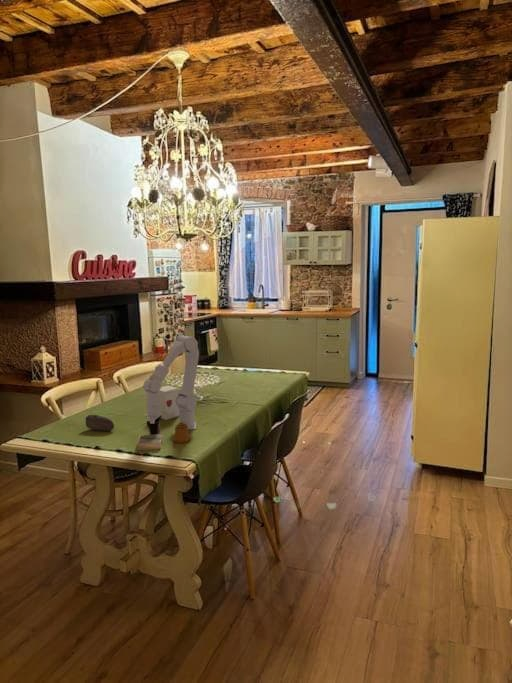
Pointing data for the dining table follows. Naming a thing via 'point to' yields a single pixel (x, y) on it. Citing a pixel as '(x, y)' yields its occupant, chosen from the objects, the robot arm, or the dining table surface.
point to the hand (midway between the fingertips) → (155, 433)
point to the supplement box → (168, 402)
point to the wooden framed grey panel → (149, 442)
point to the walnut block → (157, 430)
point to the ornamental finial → (181, 433)
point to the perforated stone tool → (99, 423)
